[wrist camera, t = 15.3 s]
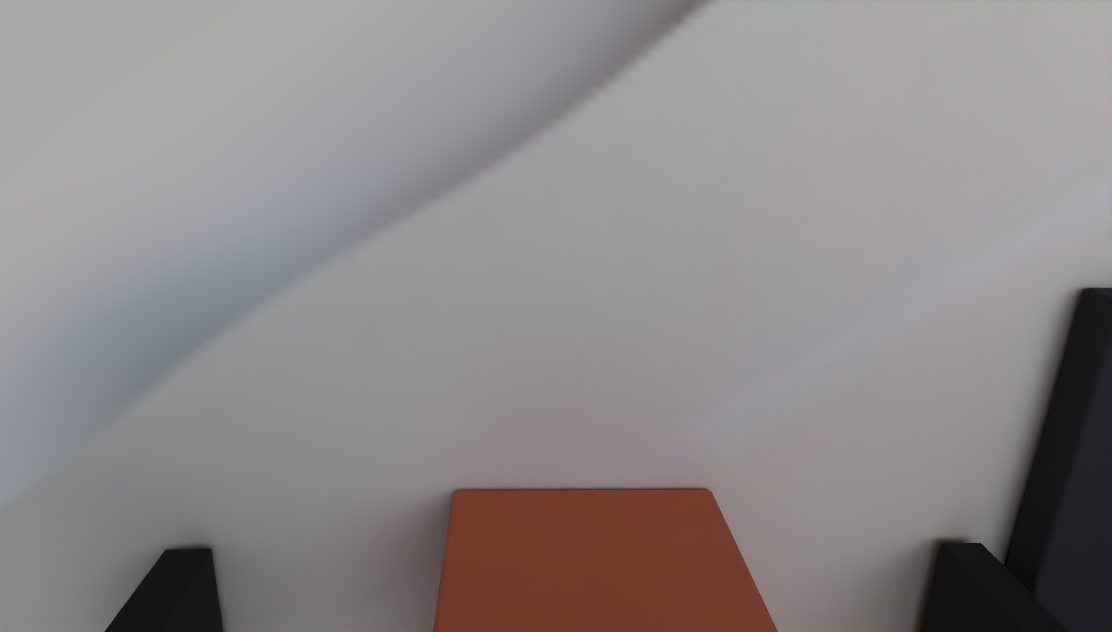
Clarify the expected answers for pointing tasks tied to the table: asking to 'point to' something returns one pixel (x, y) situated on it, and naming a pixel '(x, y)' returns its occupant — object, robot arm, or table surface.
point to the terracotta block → (594, 564)
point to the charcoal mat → (1074, 483)
